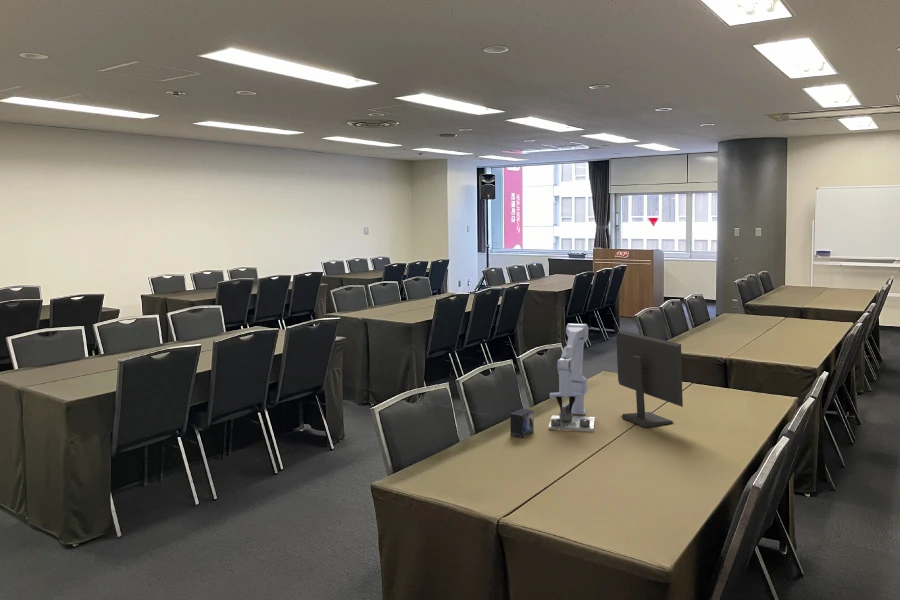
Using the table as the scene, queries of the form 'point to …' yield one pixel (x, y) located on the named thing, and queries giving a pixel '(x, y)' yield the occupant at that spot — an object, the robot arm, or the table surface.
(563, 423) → the plate
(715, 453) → the table surface
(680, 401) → the computer monitor
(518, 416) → the small box
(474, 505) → the table surface
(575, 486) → the table surface
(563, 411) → the knob
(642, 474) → the table surface
